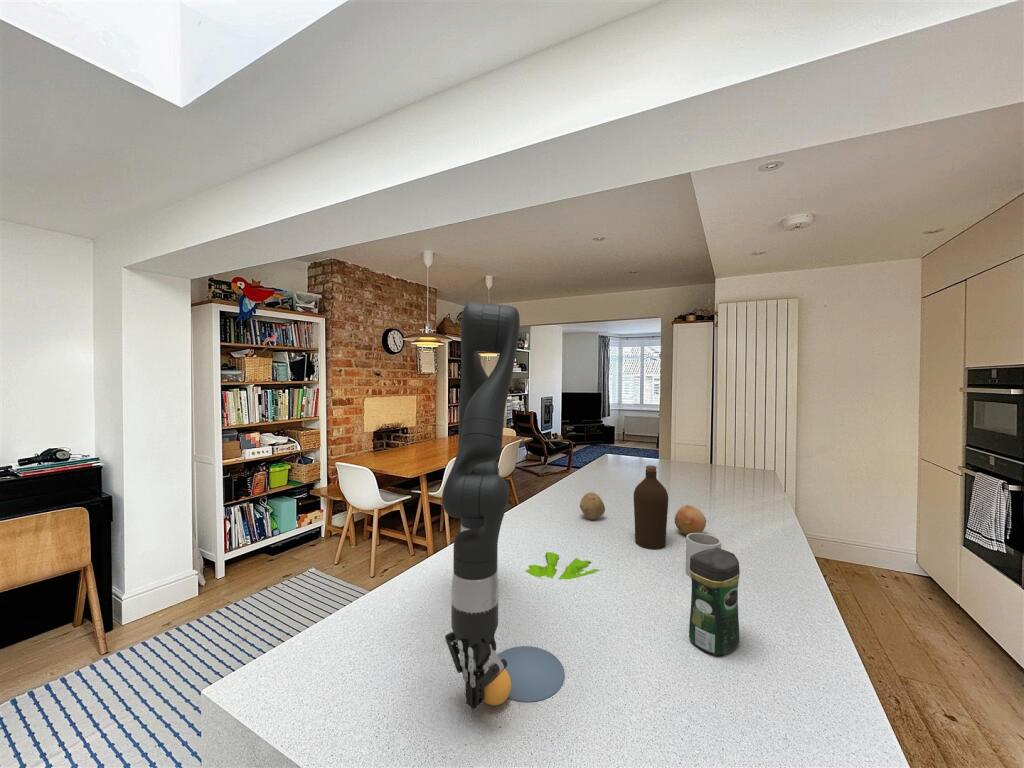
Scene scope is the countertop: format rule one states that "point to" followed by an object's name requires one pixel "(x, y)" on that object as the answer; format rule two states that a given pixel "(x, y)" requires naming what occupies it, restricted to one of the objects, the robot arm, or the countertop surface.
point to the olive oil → (650, 511)
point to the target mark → (532, 673)
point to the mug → (699, 545)
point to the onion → (690, 520)
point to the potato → (592, 506)
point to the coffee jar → (714, 601)
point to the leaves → (550, 570)
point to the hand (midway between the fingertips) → (474, 703)
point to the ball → (498, 689)
